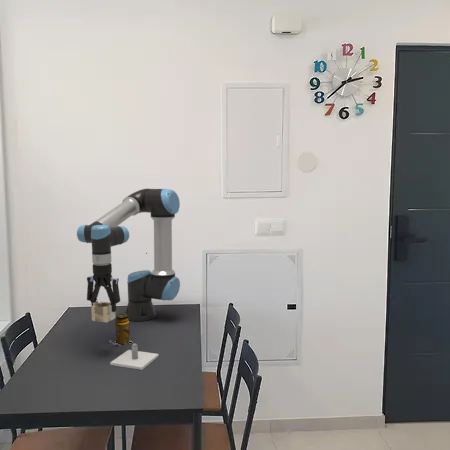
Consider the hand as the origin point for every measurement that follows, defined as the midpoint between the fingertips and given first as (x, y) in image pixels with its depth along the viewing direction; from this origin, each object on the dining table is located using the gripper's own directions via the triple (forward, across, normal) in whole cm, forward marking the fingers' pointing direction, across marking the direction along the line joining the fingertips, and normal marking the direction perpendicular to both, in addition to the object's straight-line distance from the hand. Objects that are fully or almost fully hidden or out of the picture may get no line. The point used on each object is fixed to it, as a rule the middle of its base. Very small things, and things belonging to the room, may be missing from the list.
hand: (104, 318), depth 216 cm
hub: (+15, +15, -3) cm, 22 cm away
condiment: (+15, -1, +13) cm, 20 cm away
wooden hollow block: (0, 0, 0) cm, 0 cm away
